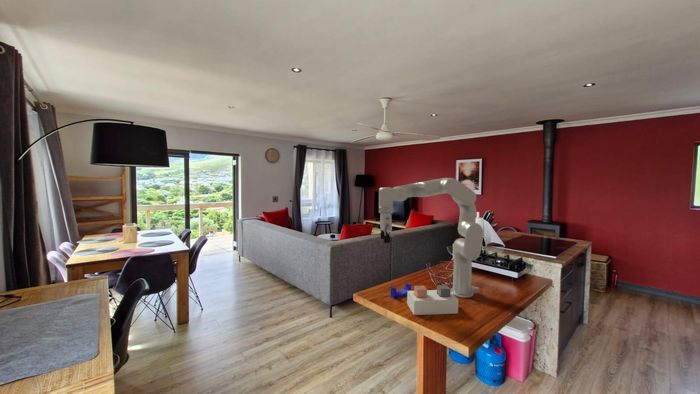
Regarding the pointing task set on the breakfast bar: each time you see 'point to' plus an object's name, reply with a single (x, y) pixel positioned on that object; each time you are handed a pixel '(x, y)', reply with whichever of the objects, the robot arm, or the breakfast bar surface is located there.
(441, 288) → the charcoal plunger
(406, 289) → the blue curved piece
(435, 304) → the block
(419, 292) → the dusty pink cube
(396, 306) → the breakfast bar surface
